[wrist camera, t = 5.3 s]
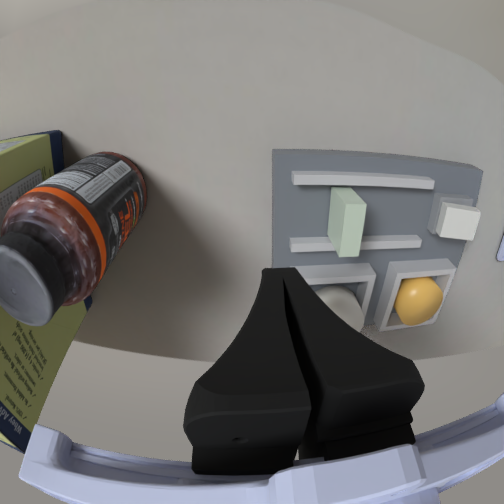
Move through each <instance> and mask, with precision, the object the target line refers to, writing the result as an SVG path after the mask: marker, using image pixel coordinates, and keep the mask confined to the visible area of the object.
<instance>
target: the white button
mask: <svg viewBox="0 0 504 504" xmlns="http://www.w3.org/2000/svg"><path fill="white" fill-rule="evenodd" d="M315 293H316V294H317V295H318V296H319V297H320V298H321V300H322V301H323V302H324V303H325V304H326V305H327V306H328V307H329V308H330V309H331V310H332V311H333V312H334V313H335V314H336V315H338V316H339V317H340V318H341V319H342V320H343V321H345V322H346V323H347V324H348V325H350V326H351V327H352V328H354V329H355V330H356V331H358V332H360V331H361V329H362V327H363V325H364V315H363V312H362V310H361V308H360V306H359V303H358V301H357V299H356V297H355V295H354V293H353V292H352V291H351V290H350V289H348V288H346V287H344V286H338V285H333V286H327V287H324V288H321V289H319V290H317V291H316V292H315Z"/></svg>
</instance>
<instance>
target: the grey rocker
mask: <svg viewBox="0 0 504 504" xmlns="http://www.w3.org/2000/svg"><path fill="white" fill-rule="evenodd" d="M480 215H481V212H480V211H479V210H478V209H477V208H476V207H471V206H465V205H459V204H453V203H446V202H442V206H441V210H440V215H439V219H438V223H437V227H436V232H437V234H438V235H439V236H440V237H446V238H454V239H463V240H472V241H473V239H474V236H475V232H476V229H477V225H478V222H479V218H480Z"/></svg>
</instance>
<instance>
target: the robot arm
mask: <svg viewBox="0 0 504 504" xmlns="http://www.w3.org/2000/svg"><path fill="white" fill-rule="evenodd" d="M496 258H497V260H498V261H504V236H503V239H502V242H501V245H500V248H499V251H498V253H497V257H496ZM424 387H425V385H424V382H423V380H422V378H421V376H420V374H419V371H418V369H417V368H416V366H415V364H414V363H413V361H412V360H410V359H408V358H405V357H403V356H401V355H399V354H396V353H394V352H392V351H390V350H388V349H386V348H384V347H382V346H380V345H379V344H377V343H375V342H373V341H372V340H370V339H368V338H367V337H365V336H364V335H362V334H361V333H359V332H358V331H356V330H355V329H354V328H352V327H351V326H350V325H348V324H347V323H346V322H345V321H343V320H342V319H341V318H340V317H339V316H338V315H336V314H335V313H334V312H333V311H332V310H331V309H330V308H329V307H328V306H327V305H326V304H325V303H324V302H323V301H322V300H321V298H320V297H319V296H318V295H317V294H316V293H315V292H314V290H313V289H312V288H311V287H310V286H309V284H308V283H307V282H306V281H305V279H304V278H303V277H302V275H301V274H300V273H299V271H298V270H297V269H296V268H295V267H286V268H265V269H263V270H262V279H261V284H260V288H259V291H258V294H257V297H256V300H255V302H254V304H253V307H252V309H251V311H250V313H249V315H248V317H247V319H246V321H245V323H244V325H243V326H242V328H241V330H240V331H239V333H238V334H237V336H236V337H235V339H234V340H233V342H232V343H231V345H230V346H229V347H228V348H227V350H226V351H225V352H224V353H223V354H222V356H221V357H220V358H219V359H218V360H217V361H216V363H215V364H214V365H213V366H212V367H211V368H210V369H209V370H208V371H207V372H206V373H205V374H203V375H202V376H201V377H200V378H199V379H198V380H197V381H196V382H195V384H194V387H193V389H192V391H191V393H190V396H189V399H188V402H187V405H186V409H185V416H184V424H183V428H184V432H185V433H186V435H187V437H188V439H189V441H190V442H191V444H192V446H193V453H192V462H182V461H171V460H161V459H154V458H146V457H140V456H133V455H128V454H122V453H117V452H111V451H107V450H102V449H98V448H94V447H90V446H86V445H82V444H78V443H74V442H72V440H71V439H70V438H69V437H68V436H66V435H65V434H64V433H61V432H60V431H57V430H55V429H52V428H48V427H45V426H42V425H39V424H35V426H34V429H33V432H32V434H31V437H30V440H29V443H28V446H27V449H26V453H25V456H24V459H23V463H22V466H21V469H20V473H19V477H20V479H22V480H23V481H25V482H27V483H28V484H30V485H32V486H34V487H35V488H37V489H39V490H41V491H43V492H45V493H47V494H49V495H51V496H53V497H54V498H57V499H59V500H62V501H64V502H67V503H69V504H441V502H440V499H439V495H438V493H440V492H443V491H444V490H447V489H449V488H451V487H453V486H455V485H457V484H459V483H461V482H463V481H464V480H466V479H468V478H470V477H472V476H474V475H475V474H477V473H479V472H480V471H482V470H484V469H486V468H487V467H489V466H491V465H492V464H494V463H495V462H497V461H499V460H500V459H502V458H503V457H504V393H503V394H502V395H501V396H500V397H499V398H498V399H497V400H496V402H495V403H494V404H492V405H490V406H488V407H486V408H483V409H481V410H479V411H477V412H475V413H473V414H470V415H468V416H466V417H463V418H461V419H459V420H456V421H454V422H451V423H449V424H446V425H444V426H441V427H438V428H435V429H433V430H430V431H427V432H424V433H421V434H418V435H415V436H414V433H413V431H412V428H411V425H410V423H412V421H413V418H412V415H411V412H410V411H411V410H412V408H413V407H414V406H415V404H416V403H417V401H418V400H419V399H420V397H421V395H422V393H423V391H424ZM297 450H298V453H299V460H294V459H295V456H296V453H297Z"/></svg>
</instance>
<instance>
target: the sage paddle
mask: <svg viewBox="0 0 504 504" xmlns="http://www.w3.org/2000/svg"><path fill="white" fill-rule="evenodd" d="M366 206H367V204H366V203H365V202H364V201H363V200H362V199H361V198H360V197H359V196H358V195H357V193H356V192H355V191H354V190H353V189H352V188H351V187H331V199H330V211H329V221H328V231H327V235H328V236H329V238H330V240H331V242H332V244H333V246H334V248H335V250H336V252H337V254H338V256H339V257H356V256H359V251H360V245H361V239H362V233H363V227H364V220H365V213H366Z"/></svg>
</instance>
